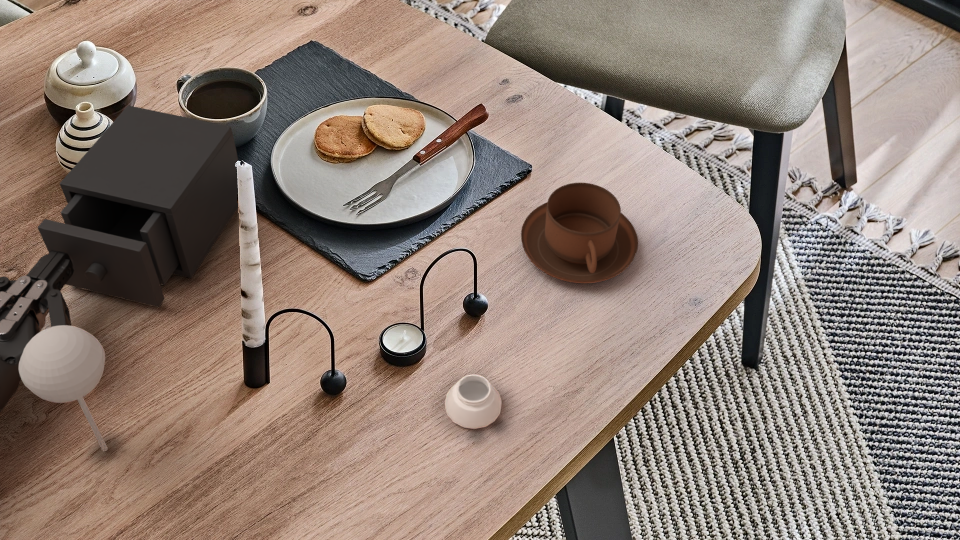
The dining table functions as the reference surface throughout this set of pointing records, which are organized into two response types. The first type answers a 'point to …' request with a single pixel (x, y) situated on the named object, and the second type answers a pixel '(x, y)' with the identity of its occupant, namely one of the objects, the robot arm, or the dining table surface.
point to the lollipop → (64, 367)
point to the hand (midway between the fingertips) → (63, 257)
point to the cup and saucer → (580, 235)
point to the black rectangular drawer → (114, 248)
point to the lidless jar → (473, 402)
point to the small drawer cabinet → (165, 176)
